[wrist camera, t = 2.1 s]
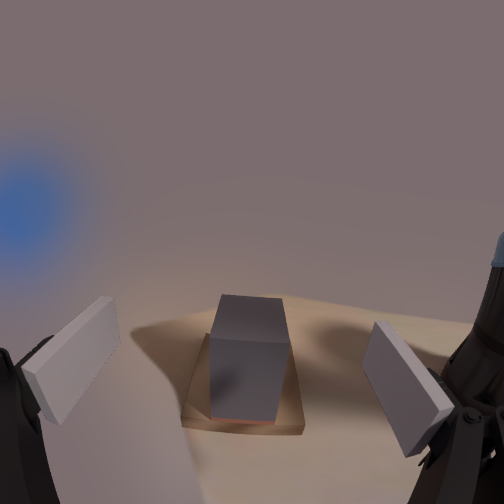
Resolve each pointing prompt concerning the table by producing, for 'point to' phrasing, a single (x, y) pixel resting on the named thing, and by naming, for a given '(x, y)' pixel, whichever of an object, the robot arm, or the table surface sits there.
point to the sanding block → (247, 359)
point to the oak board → (200, 418)
